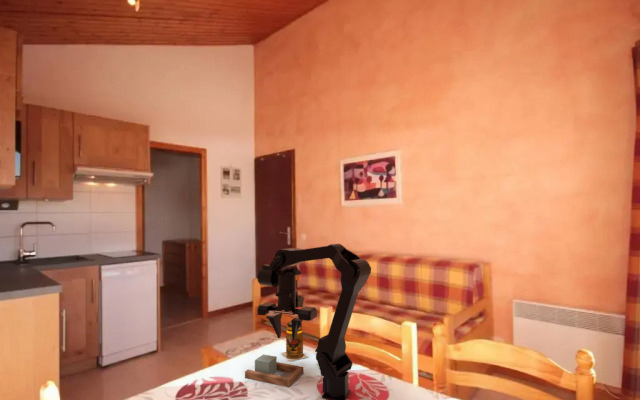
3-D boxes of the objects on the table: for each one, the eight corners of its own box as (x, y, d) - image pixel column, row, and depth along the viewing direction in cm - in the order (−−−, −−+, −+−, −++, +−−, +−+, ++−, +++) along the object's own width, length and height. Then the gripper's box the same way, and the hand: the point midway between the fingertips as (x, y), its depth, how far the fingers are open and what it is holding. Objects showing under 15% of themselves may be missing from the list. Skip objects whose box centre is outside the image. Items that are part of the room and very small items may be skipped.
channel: (303, 373, 112) (303, 366, 113) (289, 387, 103) (289, 380, 103) (262, 365, 118) (262, 359, 119) (244, 378, 109) (244, 371, 109)
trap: (296, 374, 112) (296, 373, 112) (286, 383, 106) (286, 382, 106) (284, 372, 113) (284, 371, 113) (274, 381, 107) (274, 379, 107)
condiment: (289, 361, 122) (289, 326, 122) (280, 353, 129) (280, 320, 130) (308, 357, 125) (308, 323, 126) (298, 349, 133) (298, 317, 133)
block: (276, 372, 113) (276, 356, 114) (268, 378, 109) (268, 362, 109) (263, 369, 115) (263, 354, 116) (254, 376, 111) (254, 359, 111)
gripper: (323, 286, 114) (323, 334, 114) (273, 282, 122) (273, 327, 121) (309, 292, 104) (309, 346, 103) (256, 288, 111) (255, 338, 110)
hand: (286, 338), depth 110 cm, fingers open, 5 cm apart
